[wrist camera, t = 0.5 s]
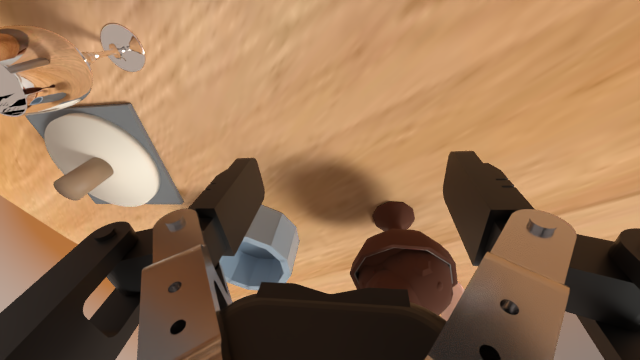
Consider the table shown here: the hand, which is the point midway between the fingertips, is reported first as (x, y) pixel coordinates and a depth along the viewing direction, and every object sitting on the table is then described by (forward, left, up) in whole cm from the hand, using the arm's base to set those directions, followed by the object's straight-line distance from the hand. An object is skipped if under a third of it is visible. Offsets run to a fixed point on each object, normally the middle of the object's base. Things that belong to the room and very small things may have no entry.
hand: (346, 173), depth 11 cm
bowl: (+23, -15, -17) cm, 33 cm away
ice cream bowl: (+19, +5, -17) cm, 26 cm away
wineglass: (-4, -23, -17) cm, 29 cm away
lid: (+9, -33, -17) cm, 38 cm away
